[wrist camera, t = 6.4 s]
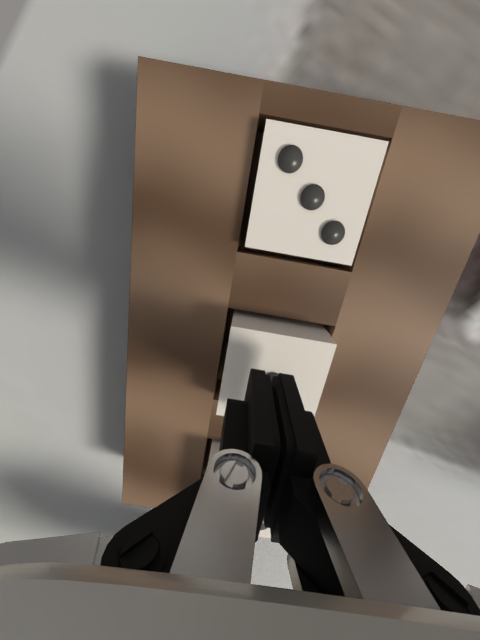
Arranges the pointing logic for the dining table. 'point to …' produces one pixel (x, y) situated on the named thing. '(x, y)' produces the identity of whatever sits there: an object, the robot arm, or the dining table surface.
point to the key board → (280, 264)
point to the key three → (313, 191)
